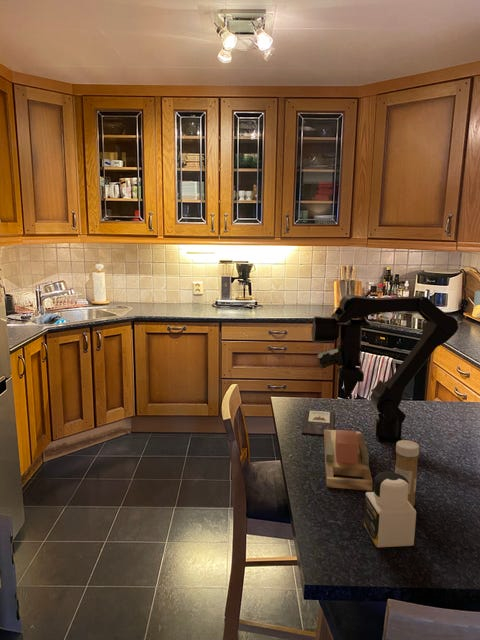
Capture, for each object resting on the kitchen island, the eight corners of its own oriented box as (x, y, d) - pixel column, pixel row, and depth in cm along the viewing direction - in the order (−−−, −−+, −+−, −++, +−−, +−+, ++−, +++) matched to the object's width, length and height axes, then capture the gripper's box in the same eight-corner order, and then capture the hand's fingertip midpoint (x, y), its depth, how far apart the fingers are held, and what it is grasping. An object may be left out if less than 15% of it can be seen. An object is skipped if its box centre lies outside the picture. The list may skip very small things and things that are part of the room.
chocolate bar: (301, 432, 136) (305, 410, 153) (301, 435, 136) (305, 413, 154) (333, 435, 134) (334, 412, 152) (333, 438, 134) (334, 415, 152)
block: (355, 449, 122) (356, 431, 121) (357, 464, 114) (358, 444, 113) (335, 448, 123) (336, 429, 122) (336, 462, 115) (337, 443, 114)
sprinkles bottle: (419, 504, 101) (424, 445, 98) (405, 511, 98) (410, 450, 96) (401, 495, 105) (405, 437, 102) (387, 501, 102) (391, 442, 100)
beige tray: (360, 438, 134) (360, 425, 133) (372, 490, 106) (373, 474, 106) (323, 436, 135) (324, 422, 134) (326, 486, 108) (327, 470, 107)
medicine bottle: (363, 524, 94) (366, 468, 92) (398, 523, 94) (402, 466, 92) (376, 548, 87) (380, 487, 85) (414, 546, 87) (419, 486, 85)
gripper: (319, 333, 139) (317, 384, 142) (320, 348, 121) (318, 406, 124) (358, 335, 138) (355, 386, 141) (365, 350, 120) (362, 409, 122)
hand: (347, 396), depth 132 cm, fingers closed
